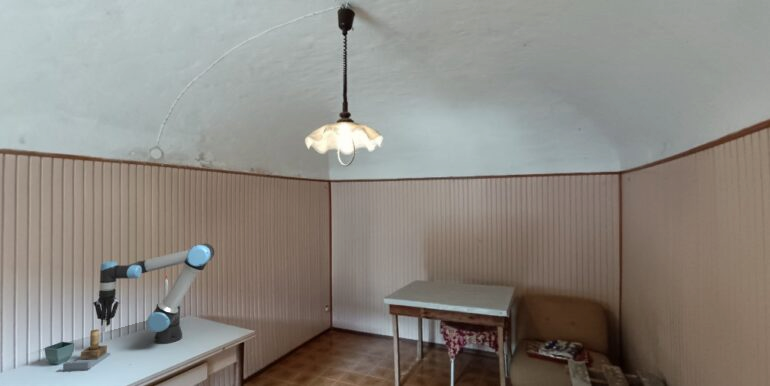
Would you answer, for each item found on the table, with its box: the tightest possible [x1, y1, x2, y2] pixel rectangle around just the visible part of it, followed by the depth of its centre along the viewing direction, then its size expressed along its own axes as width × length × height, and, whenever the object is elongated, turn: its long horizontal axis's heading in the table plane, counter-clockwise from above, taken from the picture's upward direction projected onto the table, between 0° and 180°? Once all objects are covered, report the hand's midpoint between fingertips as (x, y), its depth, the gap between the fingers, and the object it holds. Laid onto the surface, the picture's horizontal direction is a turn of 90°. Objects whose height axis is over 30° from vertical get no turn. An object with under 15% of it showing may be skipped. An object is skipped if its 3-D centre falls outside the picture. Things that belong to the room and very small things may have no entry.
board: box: [62, 352, 111, 373], centre depth 189 cm, size 11×19×4 cm, turn 9°
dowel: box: [89, 329, 100, 350], centre depth 194 cm, size 4×4×13 cm
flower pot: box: [44, 341, 76, 365], centre depth 189 cm, size 9×9×9 cm
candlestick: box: [156, 274, 169, 306], centre depth 250 cm, size 11×11×35 cm
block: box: [80, 345, 108, 360], centre depth 194 cm, size 8×8×4 cm
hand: (105, 330), depth 204 cm, fingers closed
